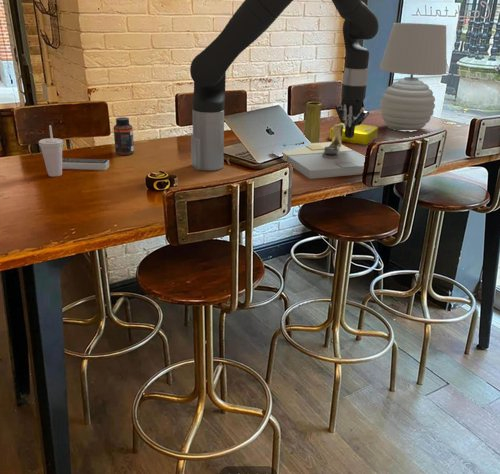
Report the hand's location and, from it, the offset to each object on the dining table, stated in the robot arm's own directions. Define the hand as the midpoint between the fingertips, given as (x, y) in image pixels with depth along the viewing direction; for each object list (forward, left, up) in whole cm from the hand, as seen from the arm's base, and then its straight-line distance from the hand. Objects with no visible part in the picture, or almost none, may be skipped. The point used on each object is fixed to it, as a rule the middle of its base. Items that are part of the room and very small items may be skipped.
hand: (348, 137), depth 170 cm
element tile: (+16, +23, -7) cm, 29 cm away
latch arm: (-6, -2, -3) cm, 7 cm away
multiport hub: (-83, +11, -7) cm, 84 cm away
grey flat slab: (-11, -4, -7) cm, 13 cm away
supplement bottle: (-70, +23, -7) cm, 73 cm away
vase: (-4, +20, -7) cm, 21 cm away
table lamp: (+44, +31, -7) cm, 54 cm away
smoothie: (-92, +6, -7) cm, 92 cm away
